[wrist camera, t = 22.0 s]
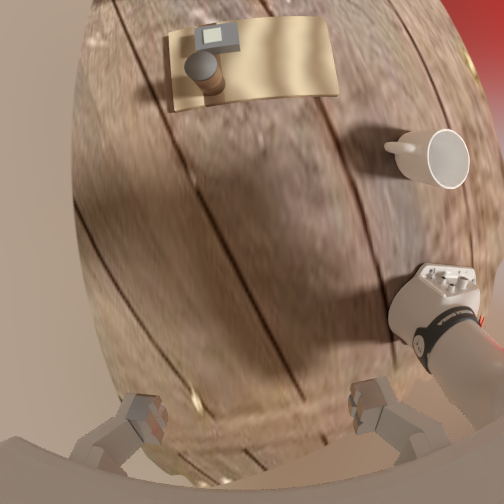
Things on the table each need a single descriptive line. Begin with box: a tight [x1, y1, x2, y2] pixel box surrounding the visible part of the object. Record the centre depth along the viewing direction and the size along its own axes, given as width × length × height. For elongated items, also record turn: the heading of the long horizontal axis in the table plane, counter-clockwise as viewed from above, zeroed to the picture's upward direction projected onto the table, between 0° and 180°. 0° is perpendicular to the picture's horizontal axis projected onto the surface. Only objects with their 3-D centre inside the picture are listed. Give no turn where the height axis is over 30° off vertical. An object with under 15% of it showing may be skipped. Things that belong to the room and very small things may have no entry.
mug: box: [384, 129, 469, 189], centre depth 33 cm, size 12×8×10 cm
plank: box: [169, 16, 339, 112], centre depth 34 cm, size 24×14×2 cm, turn 96°
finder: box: [194, 22, 241, 55], centre depth 31 cm, size 6×4×3 cm, turn 96°
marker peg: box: [184, 51, 225, 96], centre depth 30 cm, size 4×4×10 cm
